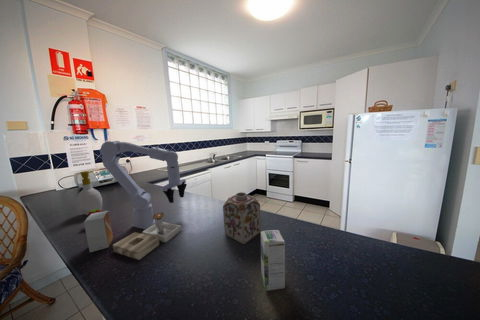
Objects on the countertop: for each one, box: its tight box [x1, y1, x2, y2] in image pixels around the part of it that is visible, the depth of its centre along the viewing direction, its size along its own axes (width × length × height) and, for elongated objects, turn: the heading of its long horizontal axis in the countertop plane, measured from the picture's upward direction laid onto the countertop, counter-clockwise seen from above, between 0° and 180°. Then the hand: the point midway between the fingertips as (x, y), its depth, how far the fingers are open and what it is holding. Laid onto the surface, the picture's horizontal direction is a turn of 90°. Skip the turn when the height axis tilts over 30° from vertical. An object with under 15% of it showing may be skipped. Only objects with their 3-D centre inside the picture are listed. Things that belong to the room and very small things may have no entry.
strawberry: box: [87, 207, 104, 218], centre depth 88 cm, size 6×8×10 cm
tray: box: [141, 221, 182, 243], centre depth 77 cm, size 13×9×2 cm
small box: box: [83, 210, 114, 253], centre depth 70 cm, size 8×6×13 cm
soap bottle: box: [76, 170, 103, 216], centre depth 101 cm, size 14×9×26 cm, turn 79°
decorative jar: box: [222, 191, 262, 245], centre depth 73 cm, size 12×12×18 cm
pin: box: [153, 212, 165, 235], centre depth 75 cm, size 4×4×9 cm
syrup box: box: [260, 229, 286, 292], centre depth 48 cm, size 6×6×14 cm
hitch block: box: [112, 232, 160, 261], centre depth 68 cm, size 14×9×3 cm, turn 68°
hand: (176, 199), depth 89 cm, fingers open, 7 cm apart
